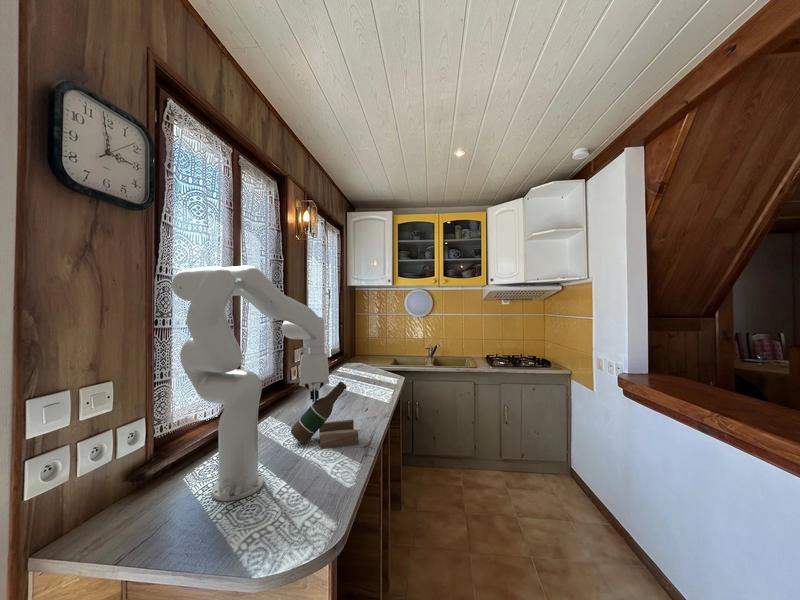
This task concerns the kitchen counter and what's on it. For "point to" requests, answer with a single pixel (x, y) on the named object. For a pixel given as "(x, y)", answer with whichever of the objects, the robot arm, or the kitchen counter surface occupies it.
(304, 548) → the kitchen counter surface
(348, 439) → the block
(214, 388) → the robot arm
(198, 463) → the kitchen counter surface
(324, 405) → the beer bottle
